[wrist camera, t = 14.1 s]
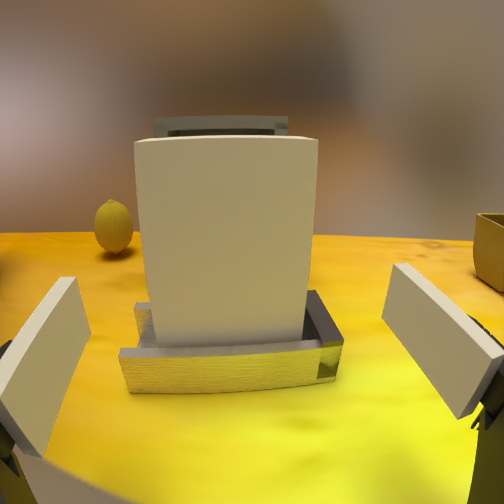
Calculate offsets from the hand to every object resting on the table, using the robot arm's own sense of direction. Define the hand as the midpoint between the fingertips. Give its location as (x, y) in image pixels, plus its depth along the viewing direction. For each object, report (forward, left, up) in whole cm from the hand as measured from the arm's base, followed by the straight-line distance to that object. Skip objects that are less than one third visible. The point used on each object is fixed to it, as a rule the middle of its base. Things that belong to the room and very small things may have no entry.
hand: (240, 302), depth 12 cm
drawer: (-4, +7, -11) cm, 14 cm away
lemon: (-28, +19, -11) cm, 36 cm away
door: (-4, +7, -10) cm, 13 cm away
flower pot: (+25, +32, -11) cm, 42 cm away
